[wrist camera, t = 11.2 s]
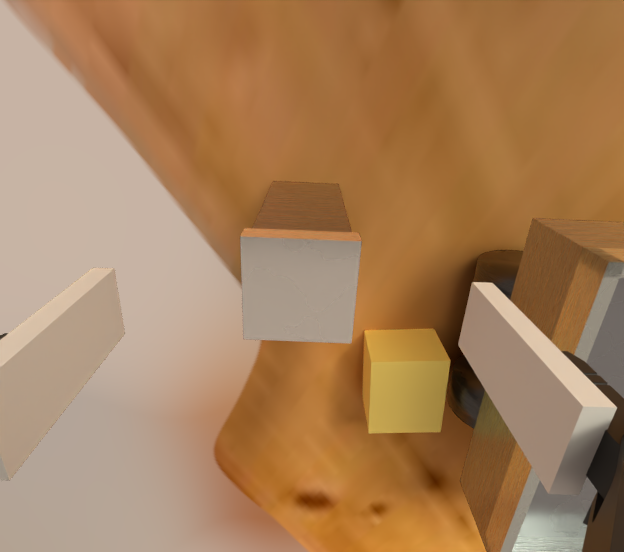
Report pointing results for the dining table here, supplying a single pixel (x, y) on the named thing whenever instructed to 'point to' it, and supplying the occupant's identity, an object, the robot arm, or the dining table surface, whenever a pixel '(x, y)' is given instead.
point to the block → (404, 380)
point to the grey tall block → (300, 266)
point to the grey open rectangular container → (566, 337)
